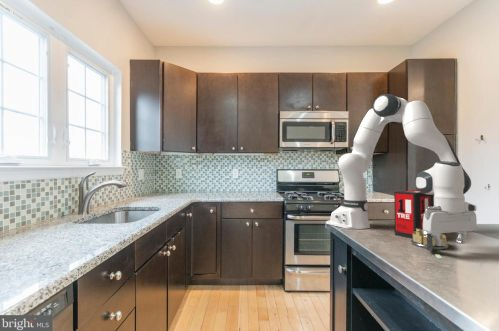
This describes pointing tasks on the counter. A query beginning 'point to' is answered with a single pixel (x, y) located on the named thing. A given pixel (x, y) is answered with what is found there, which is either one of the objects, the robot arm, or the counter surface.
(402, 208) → the cleaning product box
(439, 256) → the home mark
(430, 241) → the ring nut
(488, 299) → the counter surface
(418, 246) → the flange
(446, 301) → the counter surface
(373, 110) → the robot arm
